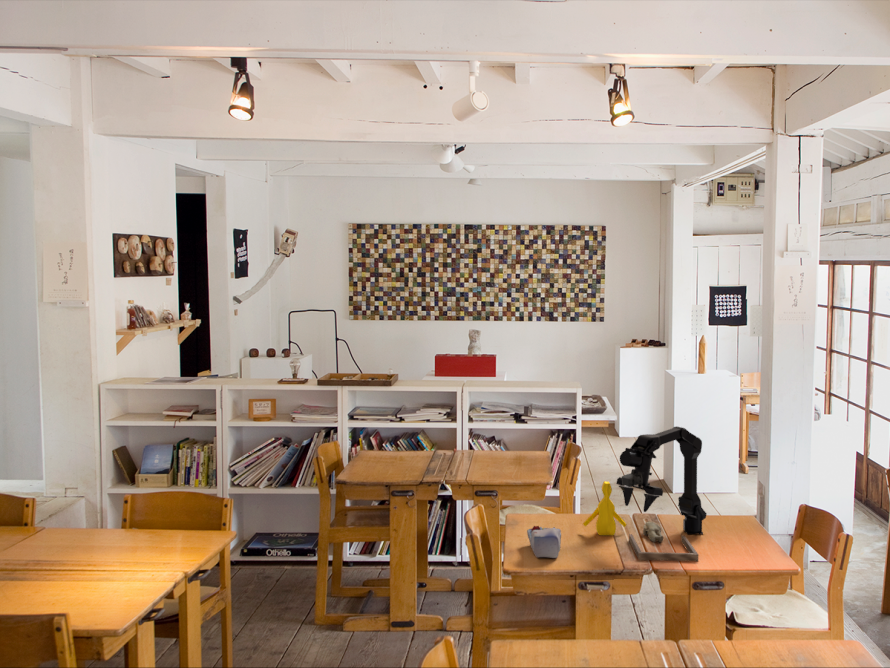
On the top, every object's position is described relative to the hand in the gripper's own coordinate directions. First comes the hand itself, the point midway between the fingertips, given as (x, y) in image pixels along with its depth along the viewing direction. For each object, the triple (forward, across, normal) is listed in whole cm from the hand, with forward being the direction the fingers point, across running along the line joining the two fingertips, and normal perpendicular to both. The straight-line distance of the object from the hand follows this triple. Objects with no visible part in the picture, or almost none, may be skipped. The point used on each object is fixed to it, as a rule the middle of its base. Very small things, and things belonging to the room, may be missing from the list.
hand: (635, 508), depth 286 cm
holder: (+13, +8, +10) cm, 18 cm away
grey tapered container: (+22, -16, -27) cm, 38 cm away
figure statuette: (+15, -17, +5) cm, 23 cm away
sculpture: (+12, -3, +18) cm, 22 cm away
